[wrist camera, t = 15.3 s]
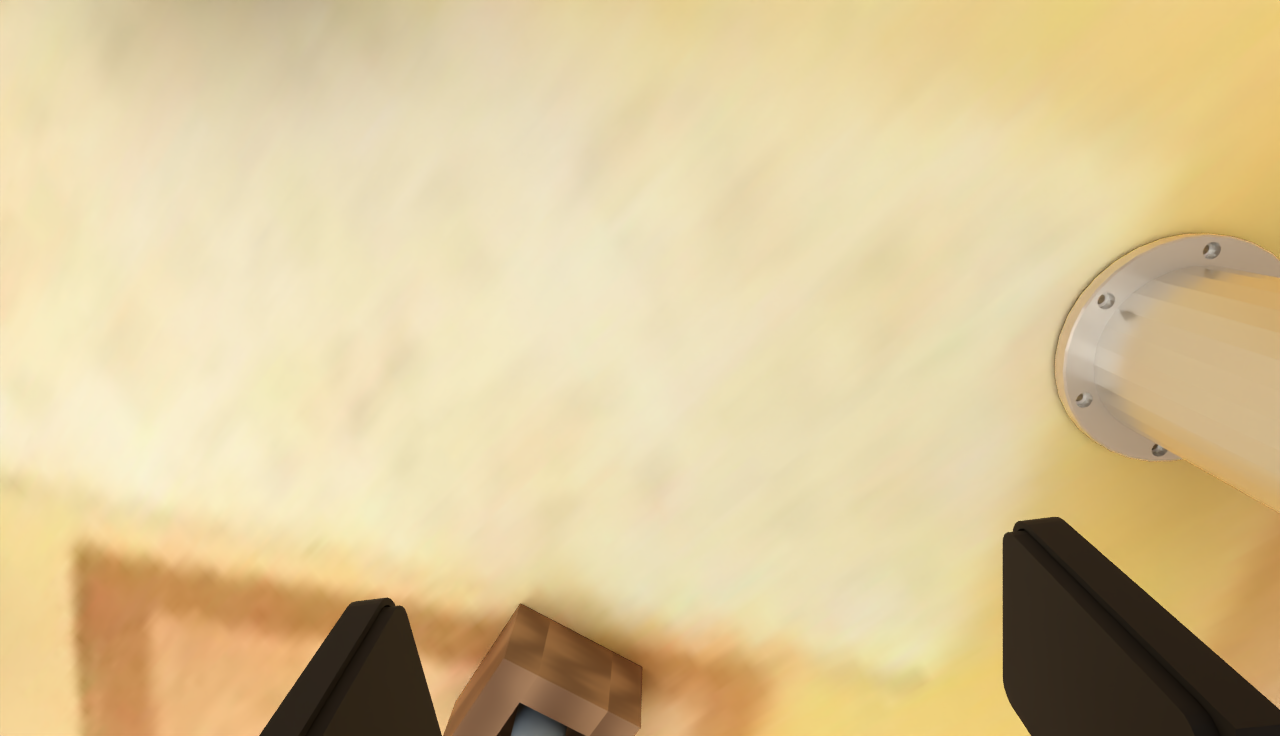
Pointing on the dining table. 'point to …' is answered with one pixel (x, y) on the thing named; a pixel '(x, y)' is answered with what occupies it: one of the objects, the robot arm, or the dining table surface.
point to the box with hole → (549, 683)
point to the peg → (535, 724)
